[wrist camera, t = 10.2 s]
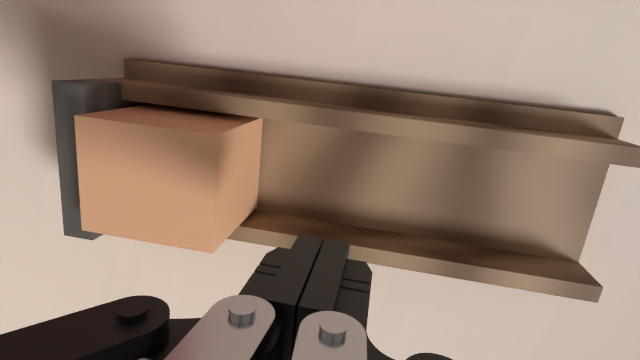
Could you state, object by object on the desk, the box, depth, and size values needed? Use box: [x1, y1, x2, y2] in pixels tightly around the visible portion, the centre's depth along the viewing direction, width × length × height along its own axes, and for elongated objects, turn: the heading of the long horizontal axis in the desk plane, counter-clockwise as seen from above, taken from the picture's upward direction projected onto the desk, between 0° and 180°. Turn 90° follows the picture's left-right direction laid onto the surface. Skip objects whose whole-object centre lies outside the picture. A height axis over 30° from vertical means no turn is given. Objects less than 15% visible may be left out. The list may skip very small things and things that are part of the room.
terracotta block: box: [74, 104, 263, 253], centre depth 19 cm, size 6×5×6 cm
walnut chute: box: [52, 59, 640, 303], centre depth 19 cm, size 25×9×6 cm, turn 84°
